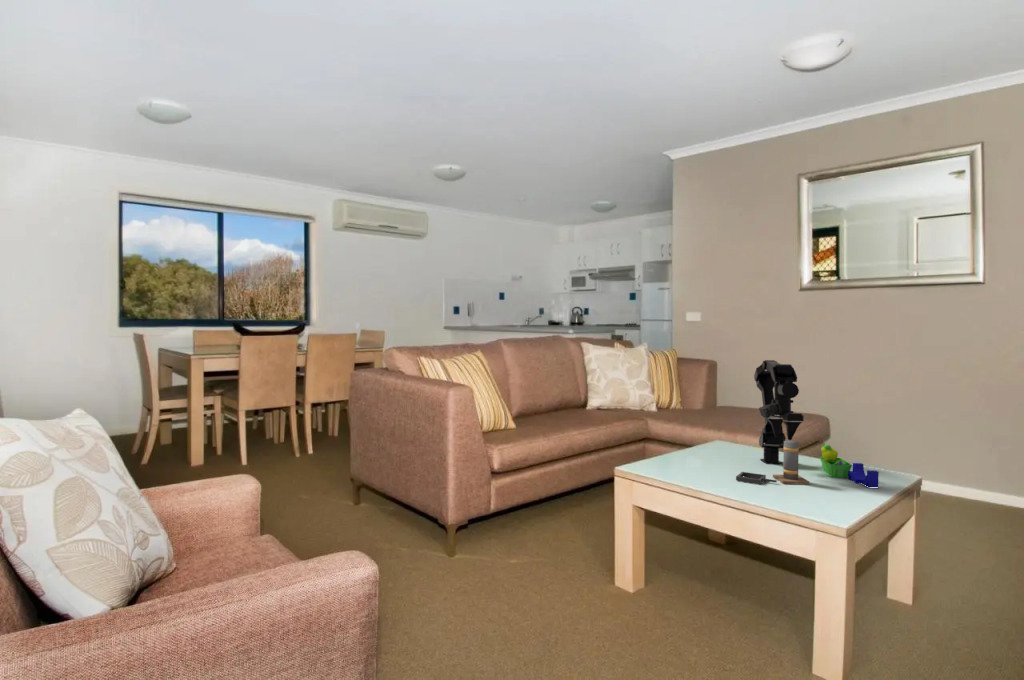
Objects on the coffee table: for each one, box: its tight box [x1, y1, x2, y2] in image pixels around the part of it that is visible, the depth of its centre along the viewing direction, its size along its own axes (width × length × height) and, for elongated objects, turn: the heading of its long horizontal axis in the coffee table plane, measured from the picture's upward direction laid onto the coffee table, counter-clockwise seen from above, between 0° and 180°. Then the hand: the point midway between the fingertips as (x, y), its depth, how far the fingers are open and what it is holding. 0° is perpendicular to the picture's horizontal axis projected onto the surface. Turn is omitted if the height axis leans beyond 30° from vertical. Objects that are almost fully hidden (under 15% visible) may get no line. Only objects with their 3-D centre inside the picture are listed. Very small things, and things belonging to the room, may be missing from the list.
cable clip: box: [847, 462, 880, 488], centre depth 205 cm, size 12×4×6 cm, turn 174°
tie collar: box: [735, 471, 778, 485], centre depth 207 cm, size 8×13×2 cm, turn 54°
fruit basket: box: [819, 444, 853, 478], centre depth 217 cm, size 11×9×11 cm
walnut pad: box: [772, 474, 810, 485], centre depth 208 cm, size 9×9×1 cm
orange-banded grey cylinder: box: [782, 440, 800, 480], centre depth 208 cm, size 5×5×13 cm
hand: (783, 438), depth 219 cm, fingers open, 9 cm apart
